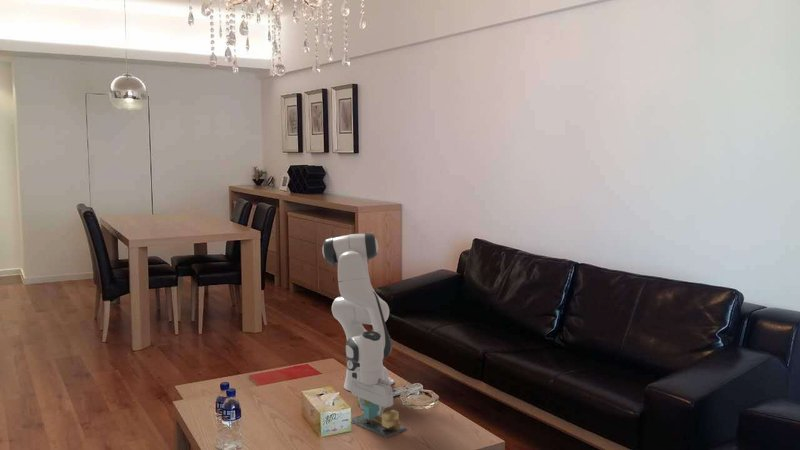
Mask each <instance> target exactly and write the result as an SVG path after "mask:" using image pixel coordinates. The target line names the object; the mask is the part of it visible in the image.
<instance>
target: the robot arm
mask: <svg viewBox="0 0 800 450" xmlns="http://www.w3.org/2000/svg"><path fill="white" fill-rule="evenodd" d="M378 252H379V242H378V239H377V238H376V236H375V235H374V234H373V233H369V232H364V233H351V234H347V235H345V234H344V235H340V236H335V237H329V238H327V239H325V240H324V241H323V244H322V253H321V254H322V255H323V256H322V257H323V258H324V260H325V261H326V263H328V264H329V265H332V266H333V267H336V265H337V282H338V283H337V284H338V292H339V294H340V296H338V297H336V298H334V300H333V302H332V303H331V304H332V305H331V313H332V316H333V318H335V320H337V321H338V322H339V324H340V325H341V327H342V329H343V331H344V334H345V336H346V337H345V338H346V343H345V345H344V353H345V354H344V355H345V357H346V358H345V360H346V361H345V363H346V373H345V379H344V383H343V388H344V390H346V391H349V392H351V393H350V394H351V395H352V396H355V397H356V398H357V397H358V400H359V403H360V407H359V409H361V410H363V405H366V404H365V402H364V399H365V400H367V401H370V402H372V403H374V404H377V405H379V408H380V410H379V411H377V415H378V416H380V417H382V414H383V413H384V412H385V409H387V408H390V407H392V406H393V405H394V393H393V388H392V385H393V384H394V383H395V381H394V379H393V378H391V377H390V375H389V371H388V369H387V368H386V366H384V365H383V361H384V360H385V359H387V358H388V357H389V356H390V354H391V353H392V351H393V342H392V338H391V336H390V334H389V332H388V329H387V325H386V322H387V320H388V319H389V316H390V307H389V305H388V303H387V302H386V301H385V300H383V299H382V298H381V297H380V296H379V295H378V294H377V293H376V291H375V289H374V287H373V285H372V283H371V279H370V274H369V266H368V261H369V260H372V259H374V258H376V257H377V256H378ZM364 325H371V326H372V331H371V330H369V331H368V330H367V329H365V327H364ZM358 400H357V401H358Z"/></svg>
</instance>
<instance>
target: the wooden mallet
mask: <svg viewBox="0 0 800 450" xmlns="http://www.w3.org/2000/svg"><path fill="white" fill-rule="evenodd" d="M361 415H362V416H363V410H362V411H361ZM399 417H400V416H399V411H397V410H395V409H392V410H388V411H386V412H385V411H384V412H383V414H382V416H381V417H380V416H377V417H374V418H371V420H374V421H376V422H378V423H381V424H382V426H383V427H385V431H387V428H392V429H395V430H399V429H401V425H402V424H400V423H399V422H400V421H399V419H400V418H399Z"/></svg>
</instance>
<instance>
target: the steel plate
mask: <svg viewBox="0 0 800 450" xmlns="http://www.w3.org/2000/svg"><path fill="white" fill-rule="evenodd" d="M351 418H352V422H353V423H352V422H351V423H352V424H353V425H356V424H357V425H356V426H358V427H361V428H363V429H364V430H368V431H369V432H371V433H372V432H373V433H374V434H376V435H378V436H381V437H383V438H385V439H387V438H389V437H392V436H395V435H397V434H399V433H402V432H405V431H407V426H404V425H402V424H400V425H401V429H399V430H395V429H392V428H387V431H385V427H383V426H382V424H381V423H378V422H376V421H374V420H371V419H368V422H366V418H364V417H363V416H362V414H360V415H356V416H354V417H351Z"/></svg>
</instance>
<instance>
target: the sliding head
mask: <svg viewBox="0 0 800 450" xmlns="http://www.w3.org/2000/svg"><path fill="white" fill-rule="evenodd" d="M379 410H380V408H379V405H377V404H374V403H372V402H371V403H368V404H366V405H363V409H362V411H363V417H364V418H366V422H368V419H371V418H374V417H377V416H378V415H377V411H379Z"/></svg>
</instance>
